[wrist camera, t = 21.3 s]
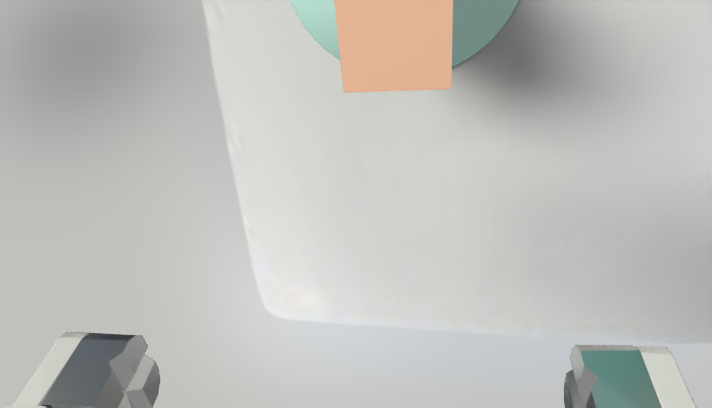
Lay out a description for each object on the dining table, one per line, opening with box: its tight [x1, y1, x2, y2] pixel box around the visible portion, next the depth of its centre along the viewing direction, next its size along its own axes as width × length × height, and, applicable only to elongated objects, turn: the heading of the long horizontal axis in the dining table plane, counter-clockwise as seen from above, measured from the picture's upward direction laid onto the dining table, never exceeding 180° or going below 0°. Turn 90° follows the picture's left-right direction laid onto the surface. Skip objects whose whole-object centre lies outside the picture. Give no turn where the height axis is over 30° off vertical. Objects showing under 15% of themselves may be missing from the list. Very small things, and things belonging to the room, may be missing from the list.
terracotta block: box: [334, 0, 453, 93], centre depth 26 cm, size 5×5×5 cm
